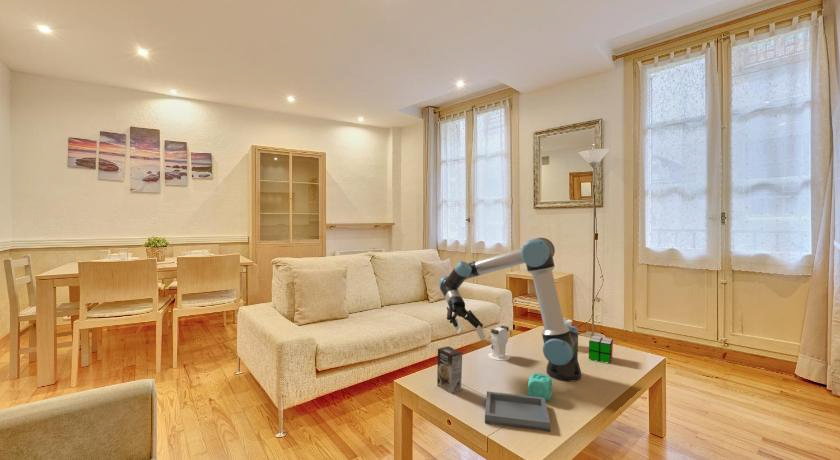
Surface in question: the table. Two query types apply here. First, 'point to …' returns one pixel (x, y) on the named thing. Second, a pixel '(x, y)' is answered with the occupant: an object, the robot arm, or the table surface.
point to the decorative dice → (540, 386)
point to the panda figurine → (499, 343)
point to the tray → (517, 411)
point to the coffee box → (449, 369)
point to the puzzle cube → (600, 349)
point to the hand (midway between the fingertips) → (472, 335)
